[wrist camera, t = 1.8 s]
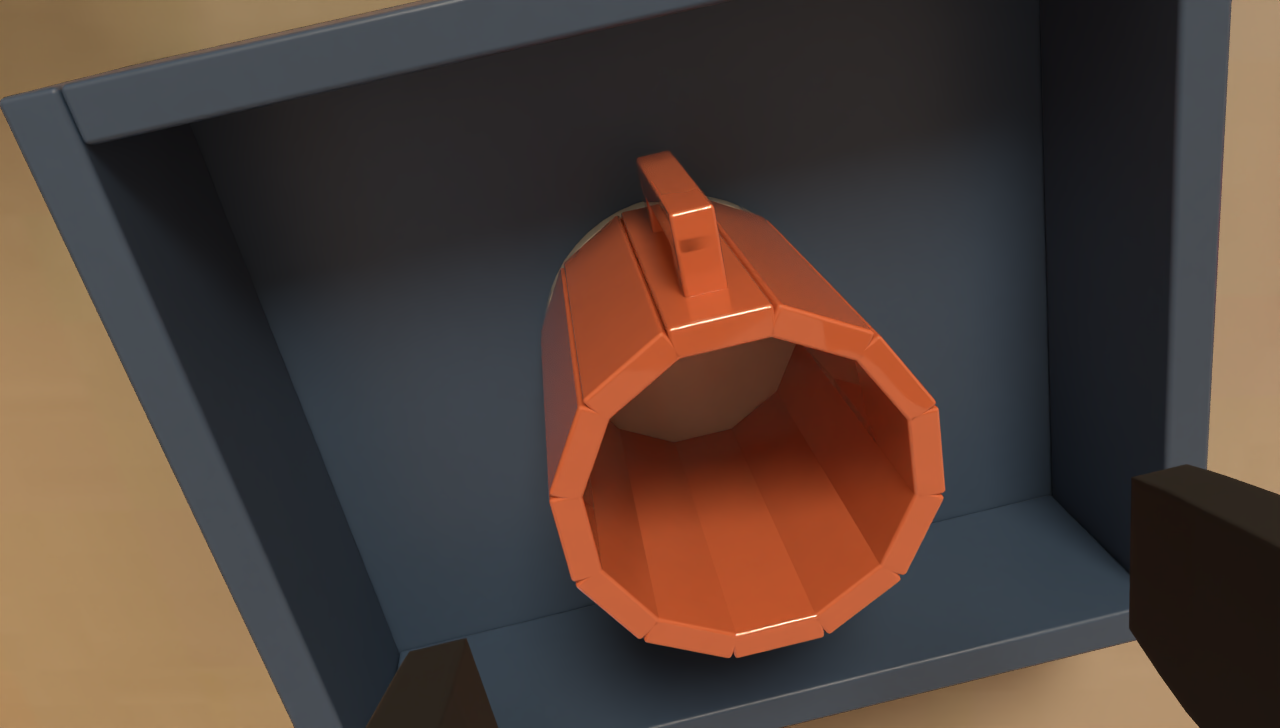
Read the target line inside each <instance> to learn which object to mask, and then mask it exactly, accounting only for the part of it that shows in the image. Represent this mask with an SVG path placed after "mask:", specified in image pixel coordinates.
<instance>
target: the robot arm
mask: <svg viewBox="0 0 1280 728" xmlns="http://www.w3.org/2000/svg"><path fill="white" fill-rule="evenodd" d="M1129 629H1130V631H1131V632H1132V634H1133V635H1134V637H1135V638H1136V640H1137V641H1138V643H1139V644H1140V646H1141V647H1142V649H1143V650H1144V652H1145V653H1146V655H1147V656H1148V658H1149V659H1150V661H1151V662H1152V664H1153V665H1154V667H1155V668H1156V670H1157V671H1158V673H1159V674H1160V676H1161V677H1162V679H1163V680H1164V681H1165V683H1166V684H1167V686H1168V687H1169V689H1170V690H1171V691H1172V693H1173V694H1174V696H1175V697H1176V698H1177V700H1178V701H1179V703H1180V704H1181V705H1182V707H1183V708H1184V710H1185V711H1186V712H1187V713H1188V715H1189V716H1190V717H1191V718H1192V719H1193V720H1194V722H1195V723H1196V724H1197V725H1198V726H1199V727H1200V728H1280V495H1278V494H1276V493H1273V492H1270V491H1267V490H1265V489H1262V488H1259V487H1256V486H1253V485H1250V484H1248V483H1245V482H1242V481H1239V480H1236V479H1233V478H1230V477H1227V476H1224V475H1221V474H1218V473H1215V472H1212V471H1209V470H1206V469H1202V468H1199V467H1195V466H1192V465H1188V464H1185V465H1180V466H1176V467H1172V468H1168V469H1164V470H1160V471H1156V472H1151V473H1147V474H1143V475H1139V476H1135V477H1131V527H1130V592H1129ZM365 728H498V725H497V723H496V720H495V717H494V714H493V711H492V708H491V706H490V703H489V700H488V697H487V694H486V692H485V689H484V686H483V683H482V680H481V677H480V675H479V672H478V669H477V666H476V663H475V661H474V658H473V655H472V652H471V649H470V646H469V644H468V641H467V638H464V639H459V640H455V641H451V642H447V643H443V644H439V645H435V646H430V647H426V648H422V649H418V650H414V651H410V652H409V653H408V654H407V656H406V657H405V659H404V660H403V662H402V664H401V665H400V667H399V669H398V671H397V672H396V674H395V676H394V677H393V679H392V681H391V683H390V685H389V686H388V688H387V690H386V692H385V693H384V695H383V697H382V699H381V701H380V702H379V704H378V706H377V708H376V710H375V711H374V713H373V715H372V717H371V718H370V720H369V722H368V724H367V726H366V727H365Z"/></svg>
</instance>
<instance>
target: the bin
mask: <svg viewBox="0 0 1280 728" xmlns="http://www.w3.org/2000/svg"><path fill="white" fill-rule="evenodd" d="M1231 2H1232V0H421V1H416V2H412V3H407V4H403V5H399V6H394V7H390V8H385V9H381V10H376V11H372V12H367V13H363V14H358V15H354V16H349V17H345V18H340V19H336V20H332V21H327V22H323V23H318V24H314V25H309V26H305V27H300V28H296V29H291V30H287V31H282V32H278V33H274V34H269V35H265V36H260V37H256V38H251V39H247V40H242V41H238V42H233V43H229V44H224V45H220V46H216V47H211V48H207V49H202V50H198V51H193V52H189V53H184V54H180V55H175V56H171V57H166V58H162V59H157V60H153V61H149V62H144V63H140V64H135V65H131V66H127V67H123V68H119V69H115V70H111V71H107V72H103V73H99V74H95V75H91V76H87V77H83V78H79V79H75V80H71V81H67V82H63V83H59V84H55V85H51V86H47V87H43V88H39V89H35V90H31V91H27V92H23V93H19V94H15V95H11V96H7V97H4V98H3V99H1V100H0V107H1V110H2V112H3V114H4V116H5V118H6V120H7V122H8V124H9V126H10V129H11V131H12V133H13V135H14V137H15V139H16V141H17V143H18V145H19V148H20V150H21V152H22V154H23V156H24V158H25V160H26V162H27V164H28V167H29V169H30V171H31V173H32V175H33V177H34V179H35V181H36V183H37V186H38V188H39V190H40V192H41V194H42V196H43V198H44V200H45V202H46V204H47V207H48V209H49V211H50V213H51V215H52V217H53V219H54V221H55V223H56V226H57V228H58V230H59V232H60V234H61V236H62V238H63V240H64V242H65V245H66V247H67V249H68V251H69V253H70V255H71V257H72V259H73V261H74V264H75V266H76V268H77V270H78V272H79V274H80V276H81V278H82V280H83V283H84V285H85V287H86V289H87V291H88V293H89V295H90V297H91V299H92V302H93V304H94V306H95V308H96V310H97V312H98V314H99V316H100V318H101V321H102V323H103V325H104V327H105V329H106V331H107V333H108V335H109V337H110V339H111V342H112V344H113V346H114V348H115V350H116V352H117V354H118V356H119V358H120V361H121V363H122V365H123V367H124V369H125V371H126V373H127V375H128V377H129V380H130V382H131V384H132V386H133V388H134V390H135V392H136V394H137V396H138V399H139V401H140V403H141V405H142V407H143V409H144V411H145V413H146V415H147V418H148V420H149V422H150V424H151V426H152V428H153V430H154V432H155V434H156V437H157V439H158V441H159V443H160V445H161V447H162V449H163V451H164V453H165V456H166V458H167V460H168V462H169V464H170V466H171V468H172V470H173V472H174V475H175V477H176V479H177V481H178V483H179V485H180V487H181V489H182V491H183V493H184V496H185V498H186V500H187V502H188V504H189V506H190V508H191V510H192V512H193V515H194V517H195V519H196V521H197V523H198V525H199V527H200V529H201V531H202V534H203V536H204V538H205V540H206V542H207V544H208V546H209V548H210V550H211V553H212V555H213V557H214V559H215V561H216V563H217V565H218V567H219V569H220V572H221V574H222V576H223V578H224V580H225V582H226V584H227V586H228V588H229V591H230V593H231V595H232V597H233V599H234V601H235V603H236V605H237V607H238V610H239V612H240V614H241V616H242V618H243V620H244V622H245V624H246V626H247V629H248V631H249V633H250V635H251V637H252V639H253V641H254V643H255V645H256V647H257V650H258V652H259V654H260V656H261V658H262V660H263V662H264V664H265V666H266V669H267V671H268V673H269V675H270V677H271V679H272V681H273V683H274V685H275V688H276V690H277V692H278V694H279V696H280V698H281V700H282V702H283V704H284V707H285V709H286V711H287V713H288V715H289V717H290V719H291V721H292V723H293V726H294V728H365V727H366V726H367V724H368V722H369V720H370V718H371V717H372V715H373V713H374V711H375V710H376V708H377V706H378V704H379V702H380V701H381V699H382V697H383V695H384V693H385V692H386V690H387V688H388V686H389V685H390V683H391V681H392V679H393V677H394V676H395V674H396V672H397V671H398V669H399V667H400V665H401V664H402V662H403V660H404V659H405V657H406V656H407V654H408V653H409V652H410V651H414V650H418V649H422V648H426V647H430V646H435V645H439V644H443V643H447V642H451V641H455V640H459V639H464V638H467V641H468V644H469V646H470V649H471V652H472V655H473V658H474V661H475V663H476V666H477V669H478V672H479V675H480V677H481V680H482V683H483V686H484V689H485V692H486V694H487V697H488V700H489V703H490V706H491V708H492V711H493V714H494V717H495V720H496V723H497V725H498V728H782V727H786V726H791V725H795V724H799V723H803V722H807V721H811V720H815V719H819V718H823V717H827V716H831V715H835V714H839V713H843V712H847V711H851V710H855V709H859V708H864V707H868V706H872V705H876V704H880V703H884V702H888V701H892V700H896V699H900V698H904V697H908V696H912V695H916V694H920V693H924V692H928V691H932V690H937V689H941V688H945V687H949V686H953V685H957V684H961V683H965V682H969V681H973V680H977V679H981V678H985V677H989V676H993V675H997V674H1001V673H1005V672H1010V671H1014V670H1018V669H1022V668H1026V667H1030V666H1034V665H1038V664H1042V663H1046V662H1050V661H1054V660H1058V659H1062V658H1066V657H1070V656H1074V655H1078V654H1083V653H1087V652H1091V651H1095V650H1099V649H1103V648H1107V647H1111V646H1115V645H1119V644H1123V643H1127V642H1131V641H1135V640H1136V638H1135V637H1134V635H1133V634H1132V632H1131V631H1130V629H1129V592H1130V527H1131V477H1135V476H1139V475H1143V474H1147V473H1151V472H1156V471H1160V470H1164V469H1168V468H1172V467H1176V466H1180V465H1185V464H1188V465H1192V466H1195V467H1199V468H1202V469H1206V470H1207V456H1208V437H1209V418H1210V399H1211V380H1212V361H1213V342H1214V323H1215V304H1216V286H1217V267H1218V248H1219V229H1220V210H1221V191H1222V172H1223V153H1224V134H1225V115H1226V96H1227V77H1228V58H1229V40H1230V21H1231ZM663 151H670V152H671V153H672V154H673V156H674V157H675V158H676V159H677V161H678V162H679V163H680V164H681V166H682V167H683V168H684V169H685V171H686V172H687V173H688V174H689V176H690V177H691V178H692V179H693V181H694V182H695V183H696V184H697V186H698V187H699V188H700V189H701V190H702V192H703V193H704V194H705V195H706V196H708V197H713V198H717V199H721V200H725V201H728V202H731V203H733V204H736V205H738V206H741V207H743V208H745V209H747V210H748V211H750V212H752V213H754V214H756V215H759V216H762V217H763V218H764V219H765V220H768V221H770V222H771V223H772V224H773V225H774V226H775V227H776V228H777V229H778V230H779V231H780V233H781V234H782V235H783V236H784V237H785V238H786V239H787V240H788V241H789V242H790V243H791V244H792V245H793V246H794V247H795V248H796V249H797V250H798V251H799V252H800V253H801V254H802V255H803V256H804V257H805V258H806V259H807V260H808V261H809V262H810V263H811V264H812V265H813V266H814V267H815V268H816V269H817V271H818V272H819V273H820V274H821V275H822V276H823V277H824V278H825V279H826V280H827V281H828V282H829V283H830V284H831V285H832V286H833V287H834V288H835V289H836V290H837V291H838V292H839V293H840V294H841V295H842V296H843V297H844V298H845V299H846V300H847V301H848V302H849V303H850V304H851V305H852V306H853V307H854V309H855V310H856V311H857V312H858V313H859V314H860V315H861V316H862V317H863V318H864V319H865V320H866V321H867V322H868V323H869V324H870V325H871V326H872V327H873V328H874V329H875V330H876V331H877V332H878V333H879V334H880V335H881V336H882V337H883V339H884V340H885V341H886V342H887V343H888V345H889V346H890V347H891V348H892V349H893V350H894V352H895V353H896V354H897V355H898V356H899V358H900V359H901V360H902V361H903V362H904V363H905V365H906V366H907V367H908V368H909V369H910V371H911V372H912V373H913V374H914V375H915V376H916V378H917V379H918V380H919V381H920V382H921V384H922V385H923V386H924V387H925V388H926V389H927V391H928V392H929V393H930V394H931V395H932V397H933V398H934V399H935V401H936V404H935V405H936V406H937V407H938V409H939V418H940V430H941V442H942V455H943V467H944V479H945V492H943V493H941V494H942V495H943V501H942V503H941V505H940V507H939V509H938V511H937V513H936V515H935V517H934V519H933V521H932V523H931V525H930V527H929V529H928V531H927V533H926V535H925V537H924V539H923V541H922V543H921V545H920V547H919V549H918V551H917V553H916V555H915V557H914V559H913V561H912V563H911V565H910V567H909V569H908V571H907V573H906V574H905V575H901V574H899V575H900V578H901V580H900V581H899V582H898V583H896V584H895V585H894V586H892V587H891V588H890V589H889V590H887V591H886V592H885V593H883V594H882V595H881V596H879V597H878V598H877V599H875V600H874V601H873V602H871V603H870V604H869V605H868V606H866V607H865V608H864V609H862V610H861V611H860V612H858V613H857V614H856V615H854V616H853V617H852V618H850V619H849V620H848V621H846V622H845V623H844V624H843V625H841V626H840V627H839V628H837V629H836V630H835V631H833V632H832V633H830V634H829V633H827V632H826V631H824V636H823V637H822V638H818V639H814V640H810V641H806V642H802V643H798V644H793V645H789V646H785V647H781V648H777V649H773V650H769V651H765V652H761V653H757V654H752V655H748V656H744V657H740V658H736V657H735V656H734V654H732V656H731V657H730V658H724V657H719V656H714V655H709V654H703V653H698V652H693V651H688V650H683V649H677V648H672V647H667V646H662V645H657V644H651V643H647V642H645V641H644V637H643V638H641V639H638V638H637V637H636V636H634V635H633V634H632V633H631V632H630V631H628V630H627V629H626V628H625V627H624V626H622V625H621V624H620V623H619V622H618V621H616V620H615V619H614V618H613V617H612V616H610V615H609V614H608V613H607V612H606V611H604V610H603V609H602V608H601V607H600V606H598V605H597V604H596V603H595V602H594V601H592V600H591V599H590V598H589V597H588V596H587V595H585V594H584V593H583V592H582V591H581V590H579V589H578V588H577V587H576V585H575V581H573V580H572V579H571V577H570V574H569V570H568V567H567V563H566V560H565V556H564V553H563V549H562V546H561V542H560V539H559V535H558V532H557V528H556V525H555V521H554V518H553V514H552V511H551V507H550V504H549V492H548V472H547V452H546V432H545V412H544V392H543V372H542V352H541V329H542V326H543V323H544V320H545V311H546V306H547V301H548V297H549V293H550V290H551V287H552V285H553V282H554V280H555V277H556V275H557V273H558V271H559V269H560V268H561V266H562V264H563V262H564V260H565V259H566V258H567V256H568V255H569V253H570V252H571V251H572V249H573V248H574V247H575V245H576V244H577V243H578V242H579V241H580V240H581V239H582V238H583V237H584V236H585V235H586V234H587V233H588V232H589V231H590V230H592V229H593V228H594V227H595V226H597V225H598V224H599V223H600V222H602V221H603V220H605V219H606V218H608V217H610V216H611V215H613V214H614V213H616V212H618V211H620V210H622V209H624V208H627V207H629V206H631V205H633V204H636V203H639V202H642V201H644V199H643V194H642V189H641V185H640V180H639V175H638V170H637V165H636V159H637V158H638V157H642V156H646V155H650V154H655V153H659V152H663Z"/></svg>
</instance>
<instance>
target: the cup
mask: <svg viewBox="0 0 1280 728" xmlns="http://www.w3.org/2000/svg"><path fill="white" fill-rule="evenodd" d="M636 165H637V170H638V175H639V180H640V185H641V189H642V194H643V199H644V201H642V202H639V203H636V204H633V205H631V206H629V207H627V208H624V209H622V210H620V211H618V212H616V213H614V214H613V215H611V216H610V217H608V218H606V219H605V220H603V221H602V222H600V223H599V224H598V225H597V226H595V227H594V228H593V229H592V230H590V231H589V232H588V233H587V234H586V235H585V236H584V237H583V238H582V239H581V240H580V241H579V242H578V243H577V244H576V245H575V247H574V248H573V249H572V251H571V252H570V253H569V255H568V256H567V258H566V259H565V260H564V262H563V264H562V266H561V268H560V269H559V271H558V273H557V275H556V277H555V280H554V282H553V285H552V287H551V290H550V293H549V297H548V301H547V306H546V311H545V320H544V323H543V326H542V329H541V352H542V372H543V392H544V412H545V432H546V452H547V472H548V492H549V504H550V507H551V511H552V514H553V518H554V521H555V525H556V528H557V532H558V535H559V539H560V542H561V546H562V549H563V553H564V556H565V560H566V563H567V567H568V570H569V574H570V577H571V579H572V580H573V581H575V585H576V587H577V588H578V589H579V590H581V591H582V592H583V593H584V594H585V595H587V596H588V597H589V598H590V599H591V600H592V601H594V602H595V603H596V604H597V605H598V606H600V607H601V608H602V609H603V610H604V611H606V612H607V613H608V614H609V615H610V616H612V617H613V618H614V619H615V620H616V621H618V622H619V623H620V624H621V625H622V626H624V627H625V628H626V629H627V630H628V631H630V632H631V633H632V634H633V635H634V636H636V637H637V638H638V639H641V638H643V637H644V641H645V642H647V643H651V644H657V645H662V646H667V647H672V648H677V649H683V650H688V651H693V652H698V653H703V654H709V655H714V656H719V657H724V658H730V657H731V656H732V654H734V656H735V657H736V658H740V657H744V656H748V655H752V654H757V653H761V652H765V651H769V650H773V649H777V648H781V647H785V646H789V645H793V644H798V643H802V642H806V641H810V640H814V639H818V638H822V637H823V636H824V631H826V632H827V633H829V634H830V633H832V632H833V631H835V630H836V629H837V628H839V627H840V626H841V625H843V624H844V623H845V622H846V621H848V620H849V619H850V618H852V617H853V616H854V615H856V614H857V613H858V612H860V611H861V610H862V609H864V608H865V607H866V606H868V605H869V604H870V603H871V602H873V601H874V600H875V599H877V598H878V597H879V596H881V595H882V594H883V593H885V592H886V591H887V590H889V589H890V588H891V587H892V586H894V585H895V584H896V583H898V582H899V581H900V580H901V578H900V575H899V574H901V575H905V574H906V573H907V571H908V569H909V567H910V565H911V563H912V561H913V559H914V557H915V555H916V553H917V551H918V549H919V547H920V545H921V543H922V541H923V539H924V537H925V535H926V533H927V531H928V529H929V527H930V525H931V523H932V521H933V519H934V517H935V515H936V513H937V511H938V509H939V507H940V505H941V503H942V501H943V495H942V494H941V493H943V492H945V479H944V467H943V455H942V442H941V430H940V418H939V409H938V407H937V406H936V405H935V404H936V401H935V399H934V398H933V397H932V395H931V394H930V393H929V392H928V391H927V389H926V388H925V387H924V386H923V385H922V384H921V382H920V381H919V380H918V379H917V378H916V376H915V375H914V374H913V373H912V372H911V371H910V369H909V368H908V367H907V366H906V365H905V363H904V362H903V361H902V360H901V359H900V358H899V356H898V355H897V354H896V353H895V352H894V350H893V349H892V348H891V347H890V346H889V345H888V343H887V342H886V341H885V340H884V339H883V337H882V336H881V335H880V334H879V333H878V332H877V331H876V330H875V329H874V328H873V327H872V326H871V325H870V324H869V323H868V322H867V321H866V320H865V319H864V318H863V317H862V316H861V315H860V314H859V313H858V312H857V311H856V310H855V309H854V307H853V306H852V305H851V304H850V303H849V302H848V301H847V300H846V299H845V298H844V297H843V296H842V295H841V294H840V293H839V292H838V291H837V290H836V289H835V288H834V287H833V286H832V285H831V284H830V283H829V282H828V281H827V280H826V279H825V278H824V277H823V276H822V275H821V274H820V273H819V272H818V271H817V269H816V268H815V267H814V266H813V265H812V264H811V263H810V262H809V261H808V260H807V259H806V258H805V257H804V256H803V255H802V254H801V253H800V252H799V251H798V250H797V249H796V248H795V247H794V246H793V245H792V244H791V243H790V242H789V241H788V240H787V239H786V238H785V237H784V236H783V235H782V234H781V233H780V231H779V230H778V229H777V228H776V227H775V226H774V225H773V224H772V223H771V222H770V221H768V220H765V219H764V218H763V217H762V216H759V215H756V214H754V213H752V212H750V211H748V210H747V209H745V208H743V207H741V206H738V205H736V204H733V203H731V202H728V201H725V200H721V199H717V198H713V197H708V196H706V195H705V194H704V193H703V192H702V190H701V189H700V188H699V187H698V186H697V184H696V183H695V182H694V181H693V179H692V178H691V177H690V176H689V174H688V173H687V172H686V171H685V169H684V168H683V167H682V166H681V164H680V163H679V162H678V161H677V159H676V158H675V157H674V156H673V154H672V153H671V152H670V151H663V152H659V153H655V154H650V155H646V156H642V157H638V158H637V159H636Z"/></svg>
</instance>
